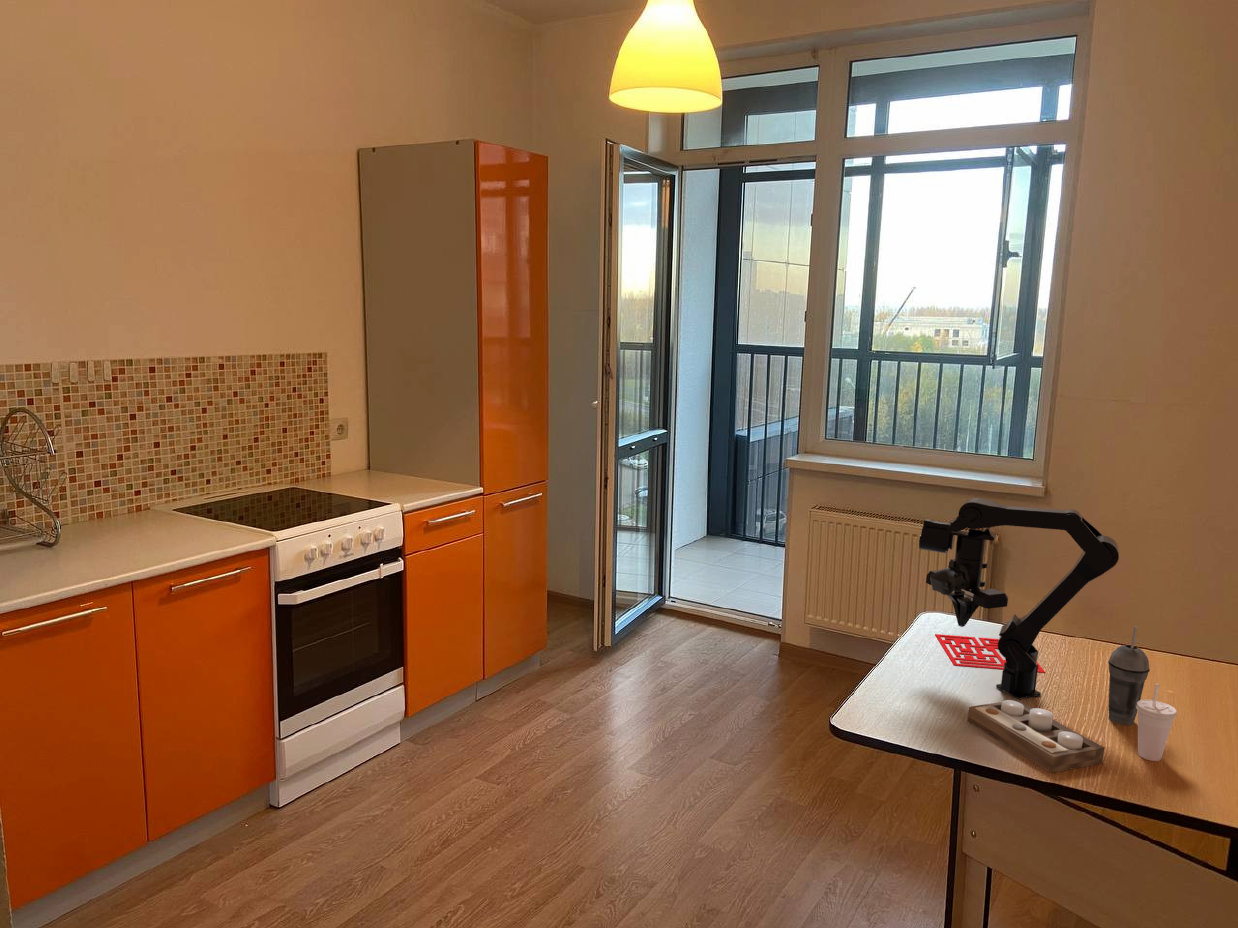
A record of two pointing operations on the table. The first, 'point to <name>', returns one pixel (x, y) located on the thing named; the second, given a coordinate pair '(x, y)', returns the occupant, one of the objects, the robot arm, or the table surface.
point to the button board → (1034, 738)
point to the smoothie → (1153, 726)
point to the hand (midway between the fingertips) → (961, 626)
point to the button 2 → (1070, 740)
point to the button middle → (1040, 720)
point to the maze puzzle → (979, 654)
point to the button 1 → (1012, 708)
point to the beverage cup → (1126, 681)
